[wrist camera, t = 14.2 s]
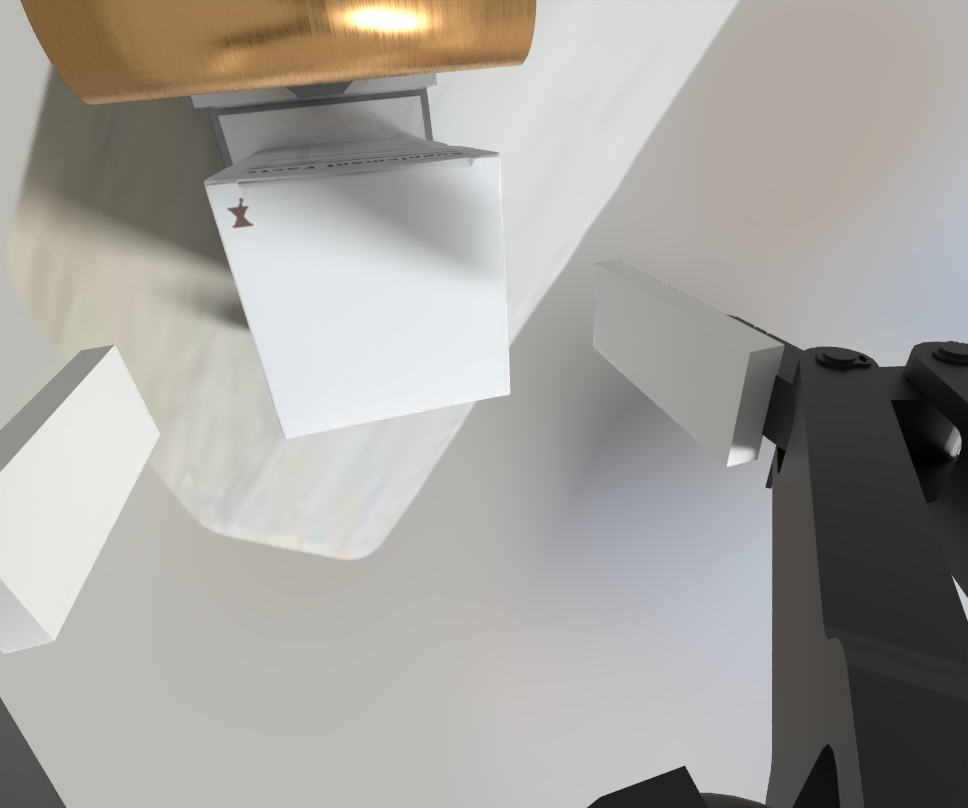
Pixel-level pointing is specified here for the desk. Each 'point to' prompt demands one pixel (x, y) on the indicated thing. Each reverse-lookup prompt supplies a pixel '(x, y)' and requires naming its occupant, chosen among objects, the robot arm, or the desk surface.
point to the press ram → (272, 46)
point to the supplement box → (368, 276)
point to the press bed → (320, 122)
